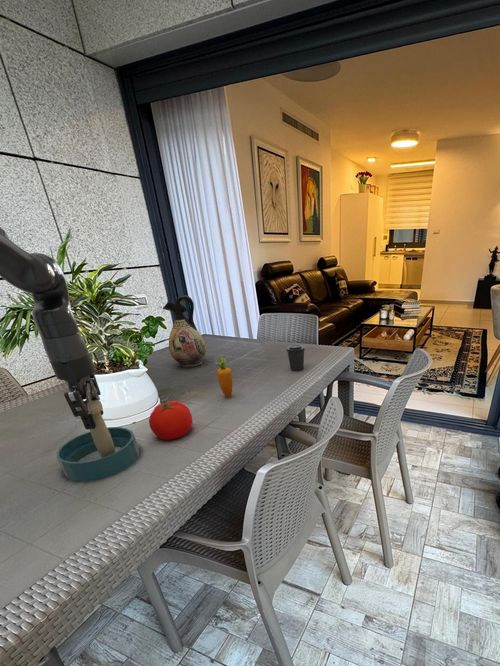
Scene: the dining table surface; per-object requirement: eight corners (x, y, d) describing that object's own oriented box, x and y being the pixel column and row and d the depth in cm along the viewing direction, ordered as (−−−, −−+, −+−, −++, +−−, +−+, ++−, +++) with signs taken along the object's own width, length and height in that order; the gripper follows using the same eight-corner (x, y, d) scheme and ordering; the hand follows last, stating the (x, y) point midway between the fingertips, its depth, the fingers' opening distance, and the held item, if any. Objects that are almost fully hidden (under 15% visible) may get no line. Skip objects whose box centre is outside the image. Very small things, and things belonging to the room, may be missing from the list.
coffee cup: (299, 373, 145) (297, 349, 140) (283, 370, 149) (281, 347, 144) (310, 367, 151) (309, 344, 146) (294, 364, 155) (293, 342, 150)
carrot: (232, 402, 123) (225, 360, 115) (219, 401, 123) (211, 360, 116) (238, 396, 127) (231, 356, 120) (225, 395, 128) (217, 355, 120)
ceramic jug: (171, 372, 152) (153, 299, 137) (175, 361, 165) (159, 293, 150) (211, 367, 155) (198, 296, 140) (212, 357, 168) (200, 291, 154)
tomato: (176, 422, 111) (168, 392, 105) (203, 430, 106) (197, 399, 101) (144, 440, 101) (134, 408, 96) (172, 449, 97) (163, 416, 92)
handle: (119, 449, 94) (100, 398, 86) (120, 461, 89) (100, 408, 81) (99, 454, 92) (78, 402, 84) (99, 467, 87) (76, 413, 79)
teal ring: (55, 490, 83) (45, 469, 80) (77, 452, 97) (69, 433, 94) (134, 475, 87) (127, 455, 84) (144, 441, 101) (138, 422, 98)
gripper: (60, 347, 82) (86, 411, 90) (36, 367, 70) (68, 439, 78) (96, 344, 84) (118, 407, 92) (78, 362, 72) (105, 433, 80)
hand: (95, 421), depth 85 cm, fingers closed on handle, 6 cm apart
